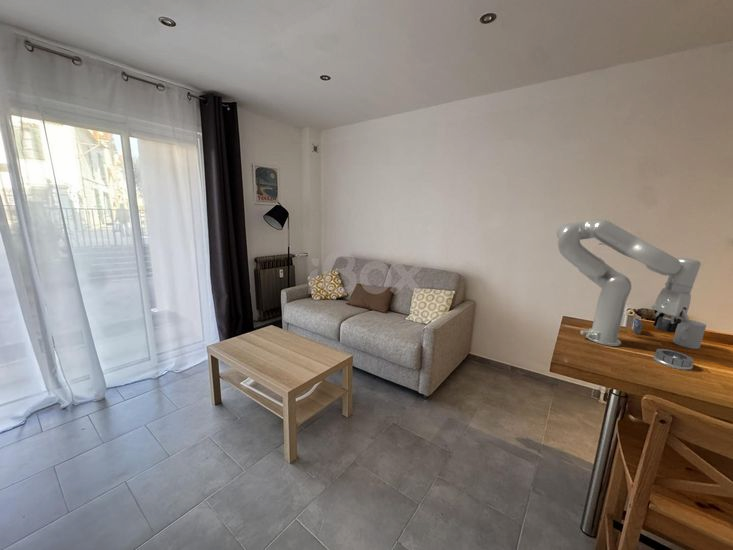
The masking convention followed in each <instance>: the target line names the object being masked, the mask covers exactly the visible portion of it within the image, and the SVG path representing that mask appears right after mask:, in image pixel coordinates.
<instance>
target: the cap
mask: <svg viewBox="0 0 733 550" xmlns="http://www.w3.org/2000/svg"><path fill="white" fill-rule="evenodd" d="M669 322H670V323H671V317H666V316H664V317H659V318H658V321H657V324H656V326H654V328H655V329H656V330H658V331H662V332H663V333H664V332H665V333H668V332H667V331H666V329H667V326H668V323H669Z"/></svg>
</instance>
